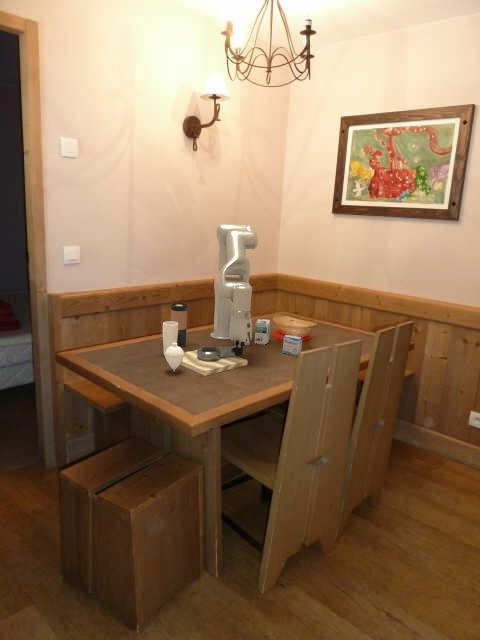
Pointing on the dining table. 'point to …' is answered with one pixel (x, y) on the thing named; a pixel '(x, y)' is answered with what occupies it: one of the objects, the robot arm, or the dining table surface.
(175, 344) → the spinning top
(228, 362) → the board
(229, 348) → the silver piece
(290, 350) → the medicine box
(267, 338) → the light bulb box
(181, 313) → the travel mug
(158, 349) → the dining table surface
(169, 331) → the drinking glass
